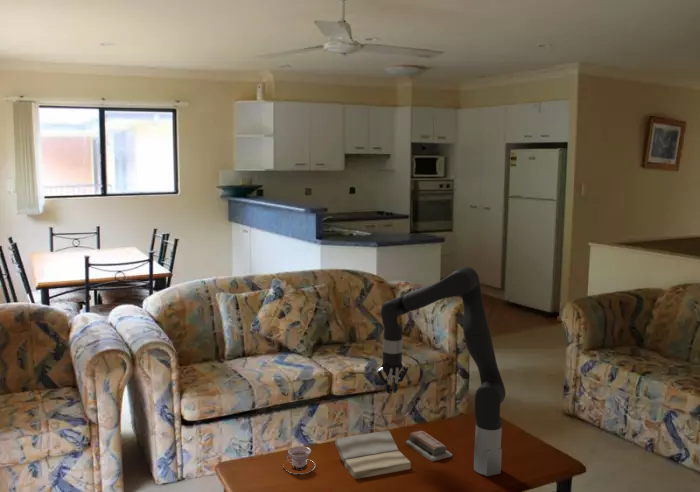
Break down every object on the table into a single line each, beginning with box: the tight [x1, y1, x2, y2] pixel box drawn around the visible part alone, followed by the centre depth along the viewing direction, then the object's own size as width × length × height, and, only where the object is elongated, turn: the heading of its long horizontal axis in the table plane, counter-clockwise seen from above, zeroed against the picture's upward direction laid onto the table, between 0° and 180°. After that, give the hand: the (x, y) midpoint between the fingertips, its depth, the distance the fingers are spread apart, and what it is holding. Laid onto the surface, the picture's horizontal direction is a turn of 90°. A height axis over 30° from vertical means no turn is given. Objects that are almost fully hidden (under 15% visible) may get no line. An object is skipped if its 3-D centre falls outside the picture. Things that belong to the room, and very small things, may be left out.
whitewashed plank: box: [334, 429, 399, 464], centre depth 255 cm, size 10×22×2 cm, turn 112°
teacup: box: [282, 446, 317, 475], centre depth 246 cm, size 12×12×6 cm
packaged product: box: [405, 430, 453, 462], centre depth 261 cm, size 18×5×10 cm
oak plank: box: [344, 450, 412, 480], centre depth 246 cm, size 10×22×3 cm, turn 112°
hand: (391, 392), depth 263 cm, fingers closed
